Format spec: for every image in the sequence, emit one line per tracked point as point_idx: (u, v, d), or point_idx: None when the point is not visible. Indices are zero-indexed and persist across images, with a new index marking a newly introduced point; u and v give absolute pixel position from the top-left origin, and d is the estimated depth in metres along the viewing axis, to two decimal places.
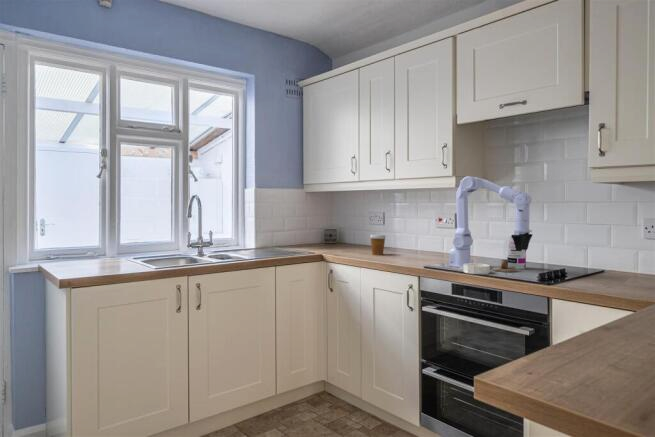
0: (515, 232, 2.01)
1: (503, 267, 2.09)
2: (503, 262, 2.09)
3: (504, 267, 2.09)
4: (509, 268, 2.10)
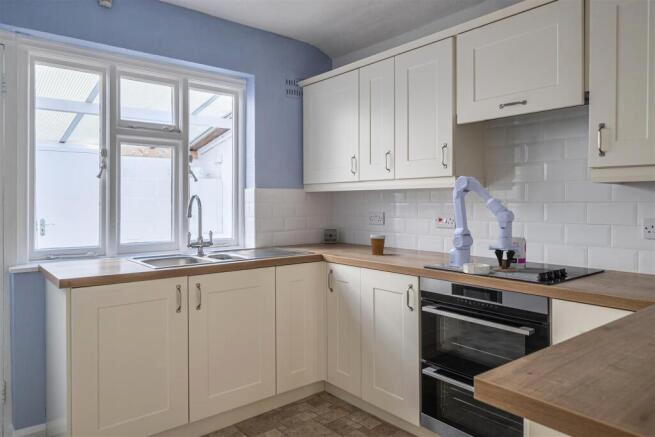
0: None
1: (503, 267, 2.09)
2: (503, 262, 2.09)
3: (504, 267, 2.09)
4: (509, 268, 2.10)
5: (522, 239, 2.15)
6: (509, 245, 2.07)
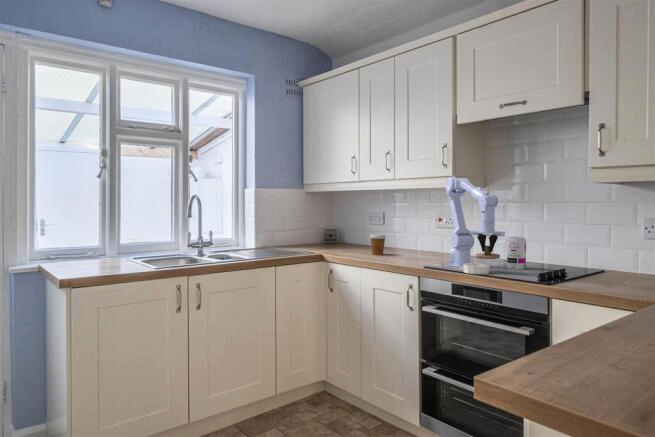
0: None
1: (486, 253, 2.07)
2: (486, 248, 2.07)
3: (487, 253, 2.06)
4: (492, 254, 2.08)
5: (522, 239, 2.15)
6: (492, 229, 2.04)
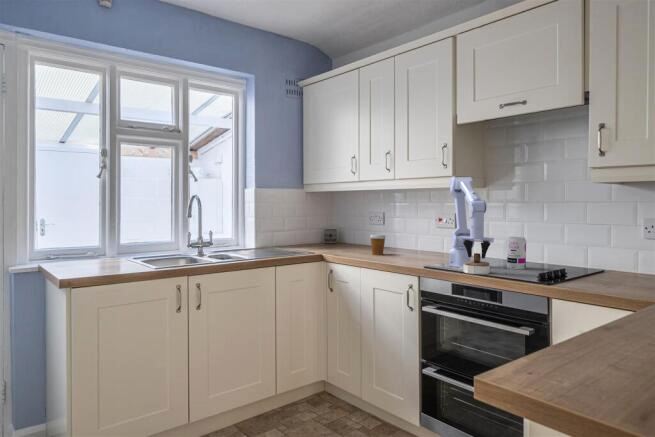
0: None
1: (475, 261, 2.06)
2: (475, 256, 2.06)
3: (476, 261, 2.05)
4: (482, 262, 2.06)
5: (522, 239, 2.15)
6: (481, 235, 2.03)
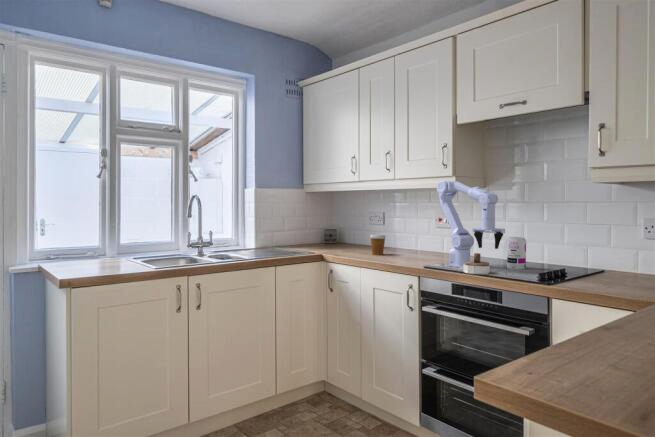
0: None
1: (475, 261, 2.06)
2: (475, 256, 2.06)
3: (476, 261, 2.05)
4: (482, 262, 2.06)
5: (522, 239, 2.15)
6: (492, 226, 2.09)
